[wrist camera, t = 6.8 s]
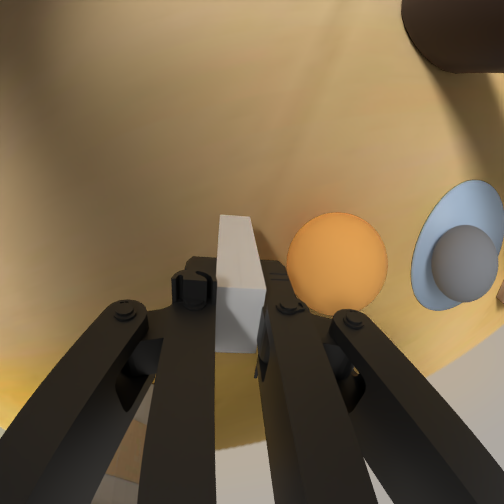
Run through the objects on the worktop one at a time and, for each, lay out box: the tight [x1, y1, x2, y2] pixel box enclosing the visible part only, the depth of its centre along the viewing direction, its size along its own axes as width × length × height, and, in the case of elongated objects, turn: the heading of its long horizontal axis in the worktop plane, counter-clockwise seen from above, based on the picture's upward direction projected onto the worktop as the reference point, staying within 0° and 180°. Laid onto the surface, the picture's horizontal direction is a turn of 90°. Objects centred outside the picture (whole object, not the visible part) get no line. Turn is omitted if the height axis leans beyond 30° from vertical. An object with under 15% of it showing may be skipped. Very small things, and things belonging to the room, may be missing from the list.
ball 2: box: [431, 225, 498, 302], centre depth 16 cm, size 6×6×6 cm
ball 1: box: [287, 212, 388, 316], centre depth 15 cm, size 6×6×6 cm
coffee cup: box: [91, 384, 154, 504], centre depth 16 cm, size 9×9×15 cm
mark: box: [411, 180, 504, 311], centre depth 19 cm, size 12×12×1 cm
